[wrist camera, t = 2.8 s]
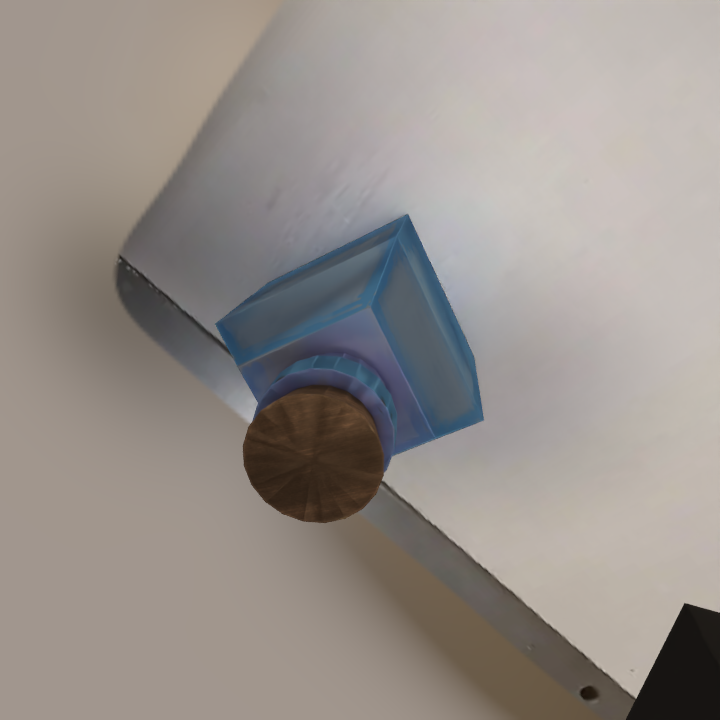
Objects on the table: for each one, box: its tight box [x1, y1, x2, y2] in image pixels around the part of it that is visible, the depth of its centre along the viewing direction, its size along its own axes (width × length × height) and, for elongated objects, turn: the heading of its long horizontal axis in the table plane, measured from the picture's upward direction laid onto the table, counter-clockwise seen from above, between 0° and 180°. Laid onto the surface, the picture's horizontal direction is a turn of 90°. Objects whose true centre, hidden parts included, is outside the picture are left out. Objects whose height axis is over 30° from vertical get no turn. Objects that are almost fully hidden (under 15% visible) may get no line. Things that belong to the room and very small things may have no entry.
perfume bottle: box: [215, 214, 484, 523], centre depth 19 cm, size 6×6×12 cm
